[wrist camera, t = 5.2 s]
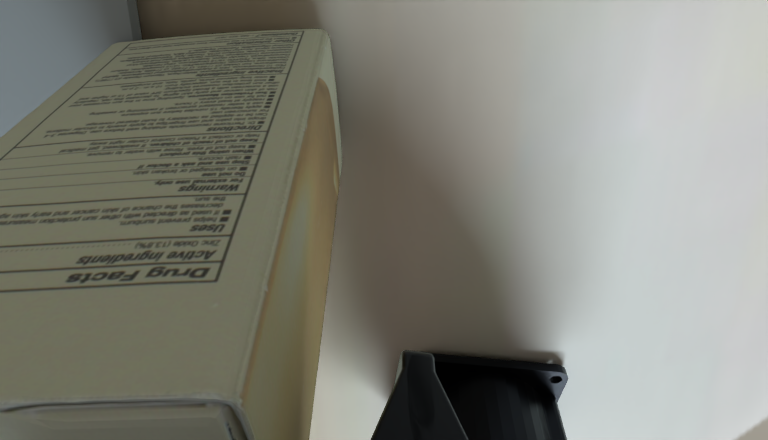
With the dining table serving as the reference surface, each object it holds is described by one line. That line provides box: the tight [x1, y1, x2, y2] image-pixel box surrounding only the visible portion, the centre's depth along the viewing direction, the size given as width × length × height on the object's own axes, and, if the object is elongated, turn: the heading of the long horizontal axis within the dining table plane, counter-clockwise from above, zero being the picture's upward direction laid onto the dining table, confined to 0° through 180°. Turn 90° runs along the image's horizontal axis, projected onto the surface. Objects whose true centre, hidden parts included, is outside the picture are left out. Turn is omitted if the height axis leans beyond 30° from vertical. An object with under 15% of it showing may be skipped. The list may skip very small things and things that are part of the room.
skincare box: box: [0, 29, 342, 440], centre depth 12 cm, size 6×4×12 cm
